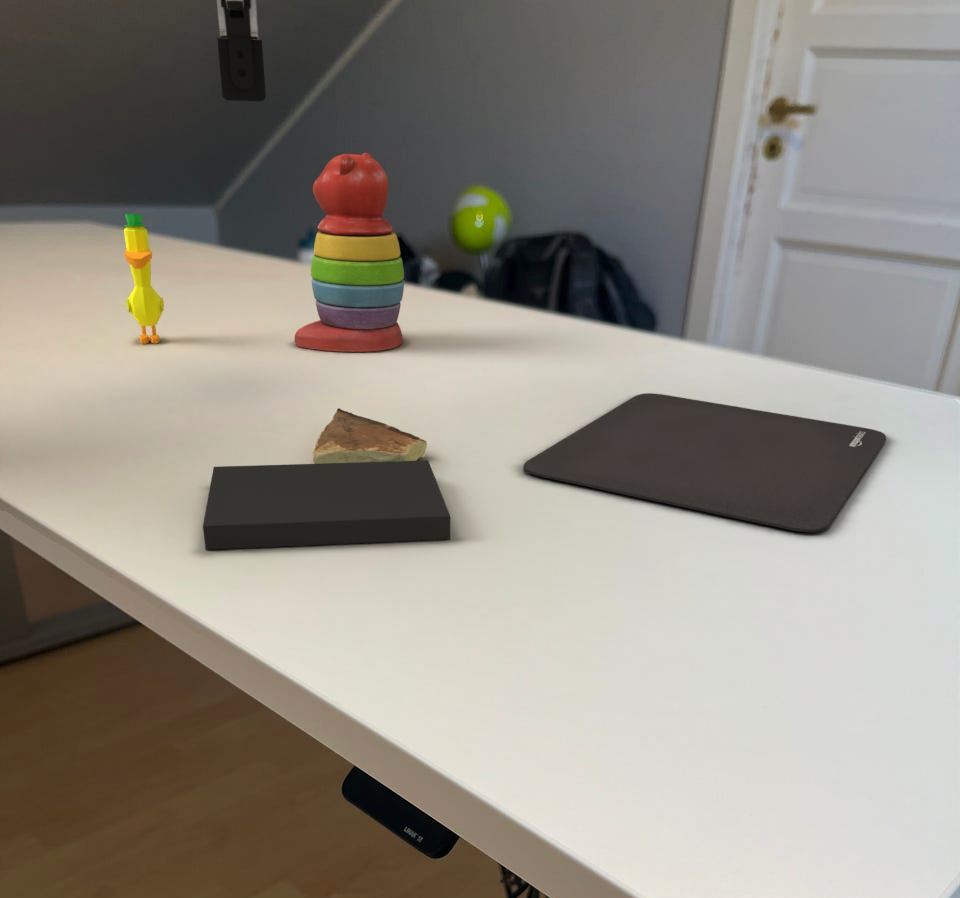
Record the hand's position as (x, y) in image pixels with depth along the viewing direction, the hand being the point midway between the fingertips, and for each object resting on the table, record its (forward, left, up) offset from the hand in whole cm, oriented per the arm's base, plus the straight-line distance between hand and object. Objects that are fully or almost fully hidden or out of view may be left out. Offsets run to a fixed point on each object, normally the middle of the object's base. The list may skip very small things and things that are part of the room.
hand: (244, 100), depth 74 cm
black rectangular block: (+4, -29, -22) cm, 37 cm away
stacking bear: (+9, +18, -22) cm, 30 cm away
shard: (+6, -19, -22) cm, 30 cm away
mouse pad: (+33, -21, -22) cm, 45 cm away
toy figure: (-12, +19, -22) cm, 32 cm away
